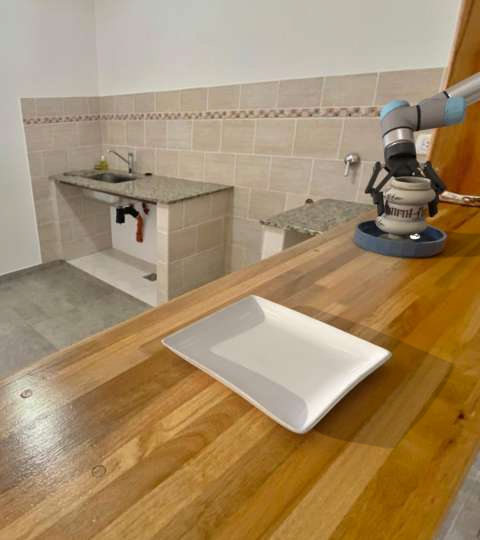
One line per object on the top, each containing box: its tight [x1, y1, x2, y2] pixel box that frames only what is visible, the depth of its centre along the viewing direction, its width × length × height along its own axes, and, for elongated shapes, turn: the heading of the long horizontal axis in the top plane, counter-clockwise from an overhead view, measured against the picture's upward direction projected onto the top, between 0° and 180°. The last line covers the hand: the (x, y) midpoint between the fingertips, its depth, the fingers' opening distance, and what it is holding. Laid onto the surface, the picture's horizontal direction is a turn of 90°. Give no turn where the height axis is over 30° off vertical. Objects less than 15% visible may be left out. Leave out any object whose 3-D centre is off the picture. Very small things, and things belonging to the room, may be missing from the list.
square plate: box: [161, 294, 393, 435], centre depth 66 cm, size 27×27×4 cm
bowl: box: [352, 218, 448, 259], centre depth 110 cm, size 21×21×4 cm
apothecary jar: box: [375, 177, 436, 243], centre depth 107 cm, size 12×12×18 cm
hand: (407, 214), depth 104 cm, fingers closed on apothecary jar, 12 cm apart
